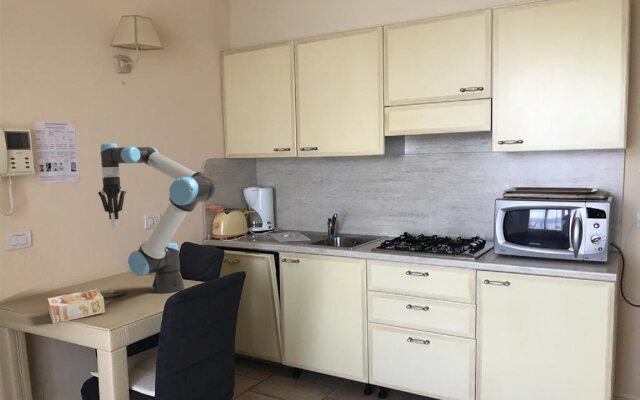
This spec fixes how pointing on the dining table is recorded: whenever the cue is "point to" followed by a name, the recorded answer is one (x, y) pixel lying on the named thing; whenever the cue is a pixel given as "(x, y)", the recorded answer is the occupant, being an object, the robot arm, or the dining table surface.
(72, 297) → the coffeecake box
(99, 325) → the dining table surface
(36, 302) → the dining table surface
